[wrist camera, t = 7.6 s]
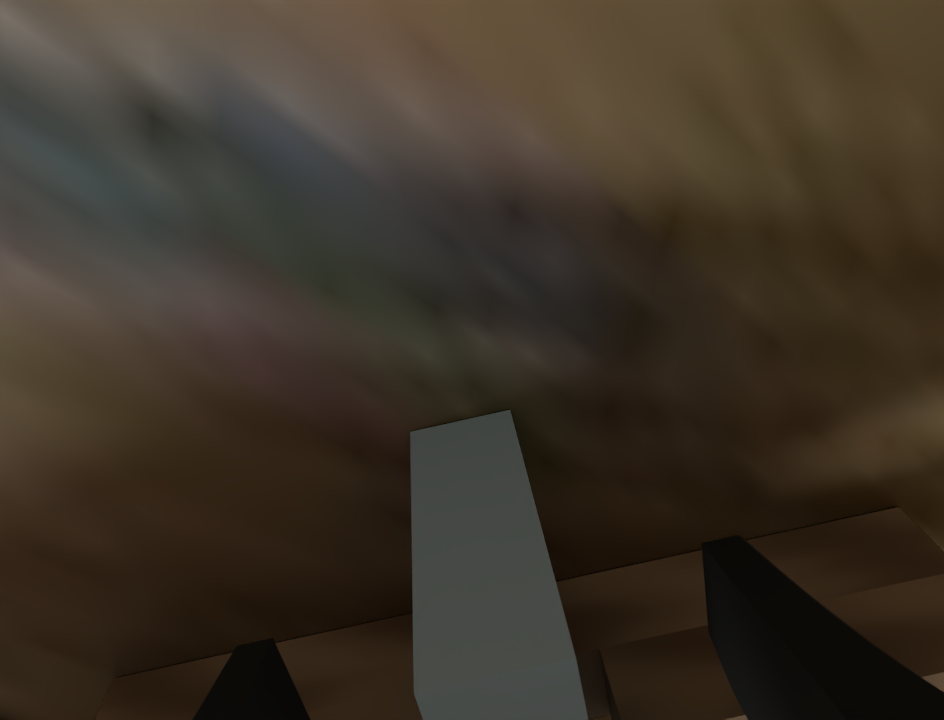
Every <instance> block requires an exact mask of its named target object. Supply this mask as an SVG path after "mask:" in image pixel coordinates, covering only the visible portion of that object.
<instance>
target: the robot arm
mask: <svg viewBox="0 0 944 720" xmlns="http://www.w3.org/2000/svg"><path fill="white" fill-rule="evenodd" d="M702 556H703V568H704V581H705V594H706V607H707V620H708V632H709V635H710V637H711V640H712V642H713V645H714V647H715V650H716V652H717V654H718V657H719V659H720V662H721V664H722V667H723V669H724V672H725V674H726V676H727V679H728V681H729V683H730V686H731V688H732V690H733V693H734V695H735V696H736V698H737V700H738V702H739V704H740V706H741V708H742V710H743V711H744V713H745V715H746V717H747V719H748V720H944V692H943V691H941V690H940V689H938V688H937V687H935V686H934V685H932V684H931V683H929V682H928V681H926V680H925V679H923V678H922V677H920V676H919V675H917V674H916V673H914V672H913V671H911V670H910V669H908V668H907V667H906V666H904V665H903V664H901V663H900V662H898V661H897V660H896V659H894V658H893V657H891V656H890V655H888V654H887V653H886V652H884V651H883V650H881V649H880V648H878V647H877V646H876V645H874V644H873V643H872V642H870V641H869V640H868V639H866V638H865V637H864V636H862V635H861V634H859V633H858V632H857V631H855V630H854V629H853V628H852V627H850V626H849V625H848V624H846V623H845V622H844V621H843V620H841V619H840V618H839V617H837V616H836V615H835V614H833V613H832V612H831V611H830V610H828V609H827V608H826V607H824V606H823V605H822V604H821V603H819V602H818V601H817V600H816V599H814V598H813V597H812V596H811V595H809V594H808V593H807V592H806V591H804V590H803V589H802V588H801V587H800V586H798V585H797V584H796V583H795V582H794V581H792V580H791V579H790V578H789V577H788V576H786V575H785V574H784V573H783V572H782V571H781V570H779V569H778V568H777V567H776V566H775V565H774V564H772V563H771V562H770V561H769V560H768V559H767V558H765V557H764V556H763V555H762V554H761V553H760V552H759V551H757V550H756V549H755V548H754V547H753V546H752V545H751V544H750V543H748V542H747V541H746V540H745V539H743V538H742V537H740V536H739V535H737V536H732V537H728V538H723V539H719V540H714V541H710V542H705V543H702ZM192 720H310V717H309V715H308V713H307V711H306V709H305V707H304V704H303V702H302V700H301V698H300V696H299V694H298V691H297V689H296V687H295V685H294V683H293V681H292V678H291V676H290V674H289V672H288V670H287V668H286V665H285V663H284V661H283V659H282V657H281V655H280V652H279V650H278V648H277V646H276V644H275V642H274V639H273V638H271V639H267V640H262V641H257V642H253V643H248V644H244V645H239V646H237V647H236V648H235V650H234V651H233V653H232V654H231V656H230V658H229V659H228V661H227V662H226V664H225V666H224V667H223V669H222V671H221V672H220V674H219V676H218V677H217V679H216V681H215V682H214V684H213V686H212V687H211V689H210V691H209V692H208V694H207V696H206V697H205V699H204V700H203V702H202V704H201V705H200V707H199V709H198V710H197V712H196V714H195V715H194V717H193V719H192Z"/></svg>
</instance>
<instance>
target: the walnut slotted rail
mask: <svg viewBox="0 0 944 720" xmlns="http://www.w3.org/2000/svg"><path fill="white" fill-rule="evenodd" d="M746 541H747V542H748V543H750V544H751V545H752V546H753V547H754V548H755V549H756V550H757V551H759V552H760V553H761V554H762V555H763V556H764V557H765V558H767V559H768V560H769V561H770V562H771V563H772V564H774V565H775V566H776V567H777V568H778V569H779V570H781V571H782V572H783V573H784V574H785V575H786V576H788V577H789V578H790V579H791V580H792V581H794V582H795V583H796V584H797V585H798V586H800V587H801V588H802V589H803V590H804V591H806V592H807V593H808V594H809V595H811V596H812V597H813V598H814V599H816V600H817V601H818V602H819V603H821V604H822V605H823V606H824V607H826V608H827V609H828V610H830V611H831V612H832V613H833V614H835V615H836V616H837V617H839V618H840V619H841V620H843V621H844V622H845V623H846V624H848V625H849V626H850V627H852V628H853V629H854V630H855V631H857V632H858V633H859V634H861V635H862V636H864V637H865V638H866V639H868V640H869V641H870V642H872V643H873V644H874V645H876V646H877V647H878V648H880V649H881V650H883V651H884V652H886V653H887V654H888V655H890V656H891V657H893V658H894V659H896V660H897V661H898V662H900V663H901V664H903V665H904V666H906V667H907V668H908V669H910V670H911V671H913V672H914V673H916V674H917V675H919V676H920V677H922V678H923V679H925V680H926V681H928V682H929V683H931V684H932V685H934V686H935V687H937V688H938V689H940V690H941V691H943V692H944V552H943V551H942V550H941V549H940V548H939V547H938V546H937V545H936V544H935V543H934V541H933V540H932V539H931V538H930V537H929V536H928V535H927V534H926V533H925V532H924V531H923V530H922V529H921V528H920V527H919V526H918V525H917V524H916V523H915V522H914V521H913V520H912V519H911V518H910V517H909V516H908V515H907V514H906V513H905V512H904V511H903V510H902V509H901V508H900V507H896V508H892V509H887V510H883V511H878V512H873V513H869V514H864V515H860V516H855V517H850V518H846V519H841V520H837V521H832V522H828V523H823V524H818V525H814V526H809V527H805V528H800V529H796V530H791V531H786V532H782V533H777V534H773V535H768V536H764V537H759V538H754V539H750V540H746ZM556 584H557V588H558V592H559V596H560V599H561V603H562V607H563V611H564V615H565V618H566V622H567V626H568V630H569V633H570V637H571V641H572V645H573V649H574V652H575V656H576V660H577V665H578V670H579V675H580V680H581V685H582V690H583V695H584V700H585V706H586V711H587V716H588V719H592V718H597V717H601V716H606V715H611V717H612V720H748V719H747V717H746V715H745V713H744V711H743V710H742V708H741V706H740V704H739V702H738V700H737V698H736V696H735V695H734V693H733V690H732V688H731V686H730V683H729V681H728V679H727V676H726V674H725V672H724V669H723V667H722V664H721V662H720V659H719V657H718V654H717V652H716V650H715V647H714V645H713V642H712V640H711V637H710V635H709V632H708V620H707V607H706V594H705V581H704V568H703V556H702V550H699V551H695V552H690V553H686V554H681V555H677V556H672V557H667V558H663V559H658V560H654V561H649V562H645V563H640V564H635V565H631V566H626V567H622V568H617V569H613V570H608V571H603V572H599V573H594V574H590V575H585V576H581V577H576V578H571V579H567V580H562V581H558V582H556ZM275 644H276V646H277V648H278V650H279V652H280V655H281V657H282V659H283V661H284V663H285V665H286V668H287V670H288V672H289V674H290V676H291V678H292V681H293V683H294V685H295V687H296V689H297V691H298V694H299V696H300V698H301V700H302V702H303V704H304V707H305V709H306V711H307V713H308V715H309V717H310V720H423V718H422V715H421V712H420V710H419V707H418V704H417V701H416V698H415V696H414V671H413V613H411V614H407V615H402V616H397V617H393V618H388V619H384V620H379V621H375V622H370V623H365V624H361V625H356V626H352V627H347V628H343V629H338V630H333V631H329V632H324V633H320V634H315V635H311V636H306V637H301V638H297V639H292V640H288V641H283V642H279V643H275ZM231 654H232V653H228V654H224V655H219V656H214V657H210V658H205V659H201V660H196V661H192V662H187V663H182V664H178V665H173V666H169V667H164V668H160V669H155V670H150V671H146V672H141V673H137V674H132V675H128V676H123V677H118V678H114V679H112V681H111V684H110V686H109V688H108V691H107V693H106V695H105V698H104V700H103V702H102V704H101V707H100V709H99V711H98V714H97V716H96V718H95V720H192V719H193V717H194V715H195V714H196V712H197V710H198V709H199V707H200V705H201V704H202V702H203V700H204V699H205V697H206V696H207V694H208V692H209V691H210V689H211V687H212V686H213V684H214V682H215V681H216V679H217V677H218V676H219V674H220V672H221V671H222V669H223V667H224V666H225V664H226V662H227V661H228V659H229V658H230V656H231Z"/></svg>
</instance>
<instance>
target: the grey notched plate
mask: <svg viewBox="0 0 944 720" xmlns="http://www.w3.org/2000/svg"><path fill="white" fill-rule="evenodd" d="M410 455H411V527H412V599H413V671H414V696H415V698H416V701H417V704H418V707H419V710H420V712H421V715H422V718H423V720H588V716H587V711H586V706H585V700H584V695H583V690H582V685H581V680H580V675H579V670H578V665H577V660H576V656H575V652H574V649H573V645H572V641H571V637H570V633H569V630H568V626H567V622H566V618H565V615H564V611H563V607H562V603H561V599H560V596H559V592H558V588H557V584H556V581H555V577H554V573H553V569H552V566H551V562H550V558H549V554H548V550H547V547H546V543H545V539H544V535H543V532H542V528H541V524H540V520H539V517H538V513H537V509H536V505H535V501H534V498H533V494H532V490H531V486H530V483H529V479H528V475H527V471H526V468H525V464H524V460H523V456H522V452H521V449H520V445H519V441H518V437H517V434H516V430H515V426H514V422H513V419H512V415H511V411H510V410H506V411H502V412H497V413H493V414H488V415H484V416H479V417H475V418H470V419H466V420H461V421H457V422H452V423H448V424H443V425H439V426H434V427H430V428H425V429H421V430H416V431H412V432H410Z"/></svg>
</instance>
